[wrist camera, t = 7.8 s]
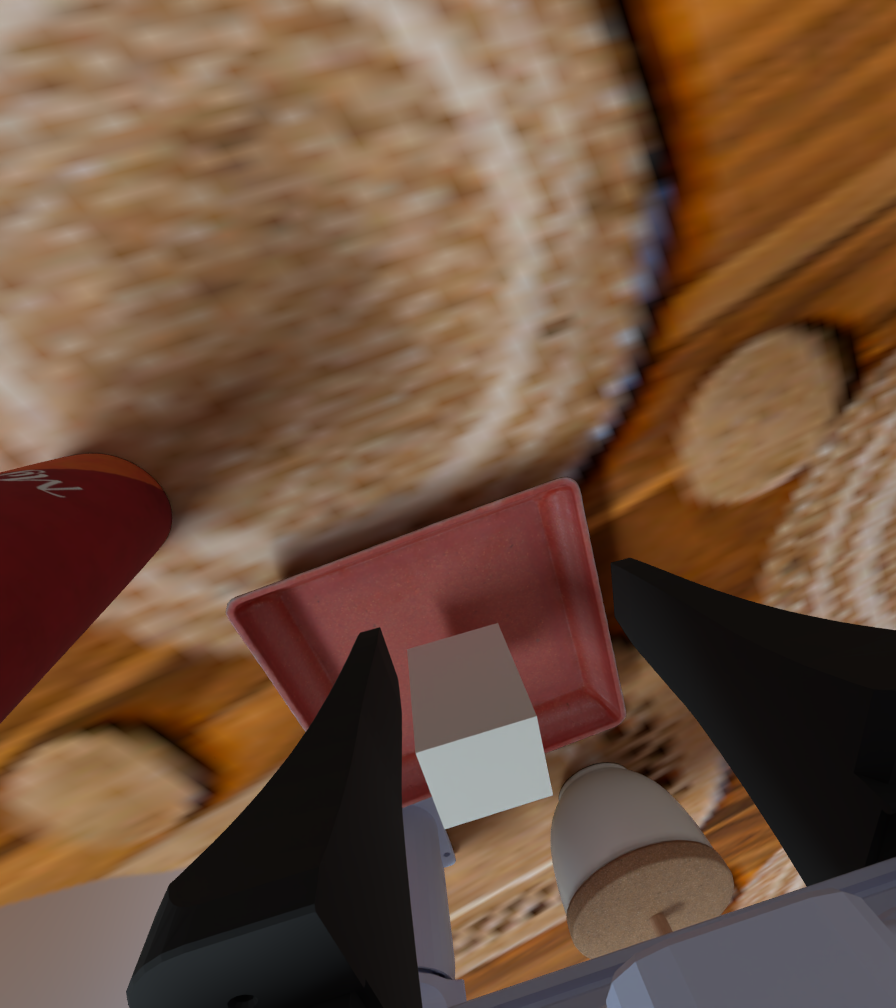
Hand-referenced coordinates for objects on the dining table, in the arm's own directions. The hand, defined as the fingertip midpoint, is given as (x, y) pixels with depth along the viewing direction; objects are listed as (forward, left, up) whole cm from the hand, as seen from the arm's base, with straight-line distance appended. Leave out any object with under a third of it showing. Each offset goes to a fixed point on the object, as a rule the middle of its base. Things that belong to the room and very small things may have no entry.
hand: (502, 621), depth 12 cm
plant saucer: (-9, +2, -11) cm, 15 cm away
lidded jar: (-27, -6, -11) cm, 30 cm away
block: (-9, +2, -8) cm, 12 cm away
